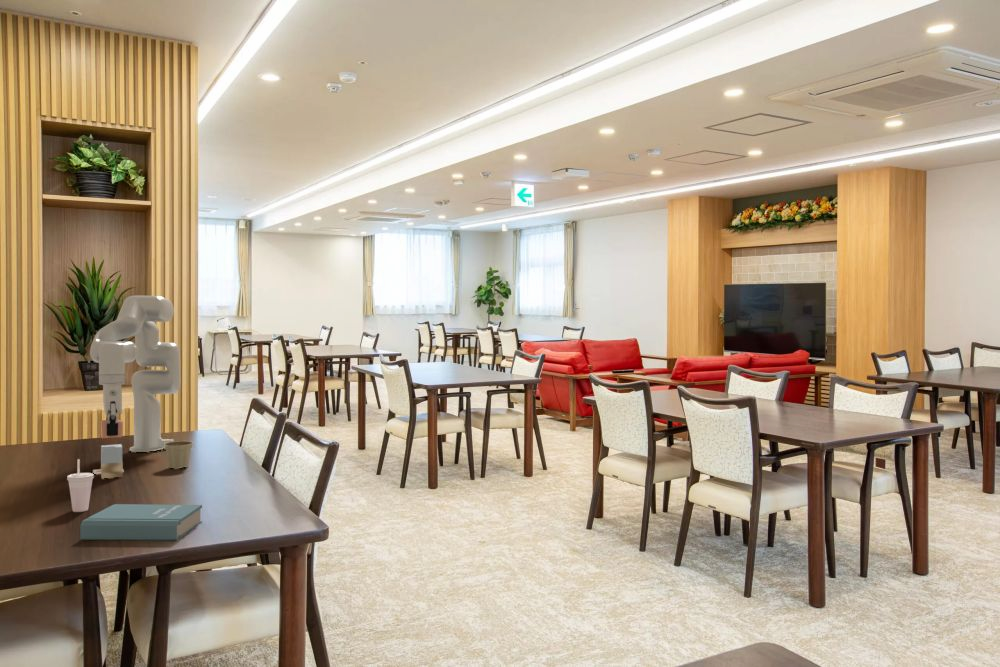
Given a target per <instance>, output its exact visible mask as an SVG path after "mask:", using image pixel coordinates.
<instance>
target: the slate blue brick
mask: <svg viewBox="0 0 1000 667" xmlns="http://www.w3.org/2000/svg"><path fill="white" fill-rule="evenodd" d="M119 462H123V445H122V443H119V444H107V445H106V444H105V445H100V464H101V463H102V464H106V463H119Z"/></svg>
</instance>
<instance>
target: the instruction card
mask: <svg viewBox="0 0 1000 667" xmlns="http://www.w3.org/2000/svg"><path fill="white" fill-rule="evenodd" d="M92 473H94V474H96V475H101V468H99V469H92ZM123 473H125V470H124V469H123Z"/></svg>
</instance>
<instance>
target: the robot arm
mask: <svg viewBox="0 0 1000 667" xmlns="http://www.w3.org/2000/svg"><path fill="white" fill-rule="evenodd" d="M174 315H175V308H174V305H173V303H172V300H170V299H168V298H165V297H164V296H160V295H129V296H128V297H126V298H125V299H124V300H123V302H122V304H121V308H120V311H119V313H118V315H117V318H116V319H115V320H114V321H112V322H110V323H108V324H106V325H105V326H103V327H102V328H100V329H98V331H97V332H96V334H95V336H94V338H93V340H92V342H91V345H90V349H89V354H90V358H91V360H92V361H93V362H95V363H98V385H100V386H102V400H103V403H102V404H103V411H104V414H105V415H106V418H105V419H106V420H108V424H107V436H117V435H118V423H117V420H118V414H119V415H122V414H123V394H122V393H123V392H122V391H123V390H122V385H125V384H126V383H125V382H126V379H125V377H126V374H125V373H126V371H125V370H126V366H125V365H126V364H129V363H130V364H131V363H133V362H134V361H135V362H136V364H137V365H139V366H141V367H150V368H151V367H152V368H153V367H154V368H155V367H156V368H157V367H159V368H160V367H162V368H164V367H165V368H166V369H142V370H137V371H135V372H134V373H133V374H132V376H131V380H130V381H131V387H132V393H133V446H130V447H129V452H130V451H131V453H136V452H147V453H150V452H149V451H156V450H160V449H163V448H165V446H164V444H165V443H168V442H175V440H174V439H173V438H171V439H169V438H167V439H164V438H162V436H161V434H162V432H161V431H162V430H161V429H162V426H161V425H162V424H161V423H162V421H161V420H162V406H161V403H160V401H159V400H158V398H157V396H155V395H173V394H177V393H178V392H179V391H180V389H181V380H182V379H181V378H182V377H181V375H182V374H181V351H180V347H179V345H178V344H177V343H175V342H164V341H163V342H162V341H160V330H159V327H158V326H157V324H156V323H157V322H159V323H160V322H161V323H166V322H170V321H171V320H172V319H173V317H174ZM155 322H156V323H155ZM131 337H134V342H133V341H129V340H125V339H128V338H131Z"/></svg>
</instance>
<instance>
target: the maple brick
mask: <svg viewBox="0 0 1000 667" xmlns="http://www.w3.org/2000/svg"><path fill="white" fill-rule="evenodd" d="M123 465H124V462H123V461H122V462H119V463H106V464H102V463H101V462H100V469H101V474H100V477H101V480H105V479H104V478H108V479H114V477H119V478H123V477H124V476H123V474H124V472H123V470H124V468H123Z"/></svg>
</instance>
